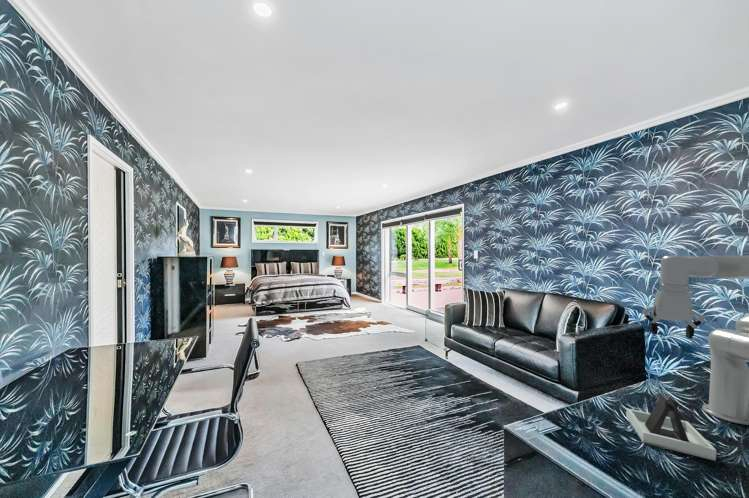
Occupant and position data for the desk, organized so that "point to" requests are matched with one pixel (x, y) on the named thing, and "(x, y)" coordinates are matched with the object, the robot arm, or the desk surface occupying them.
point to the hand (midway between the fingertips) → (671, 335)
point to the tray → (693, 447)
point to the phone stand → (660, 414)
